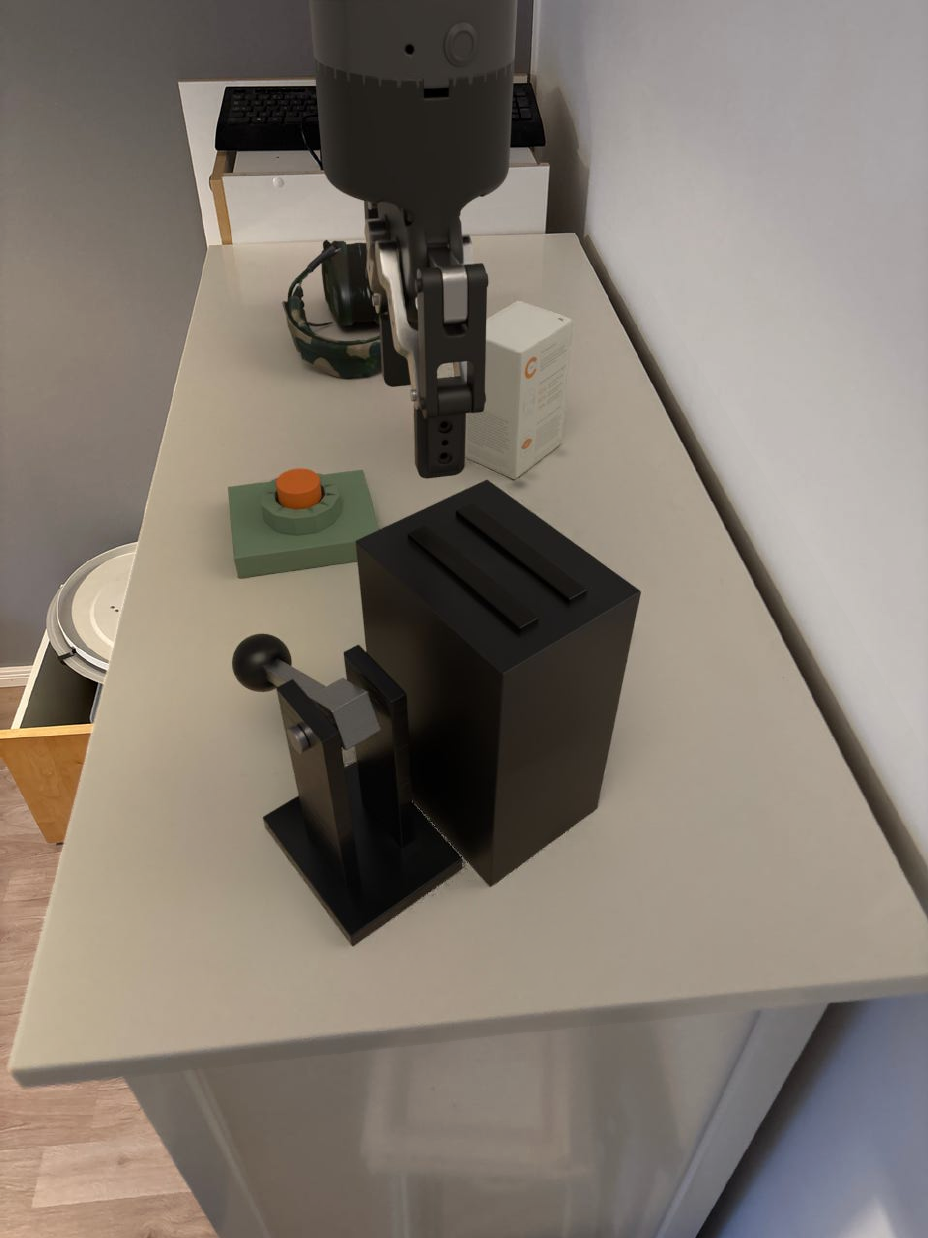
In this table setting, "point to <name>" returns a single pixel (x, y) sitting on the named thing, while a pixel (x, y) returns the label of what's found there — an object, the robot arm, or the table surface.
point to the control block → (299, 525)
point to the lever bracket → (357, 809)
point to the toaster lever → (305, 687)
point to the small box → (521, 389)
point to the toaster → (498, 668)
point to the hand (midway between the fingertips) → (420, 424)
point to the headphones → (337, 312)
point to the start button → (299, 488)
